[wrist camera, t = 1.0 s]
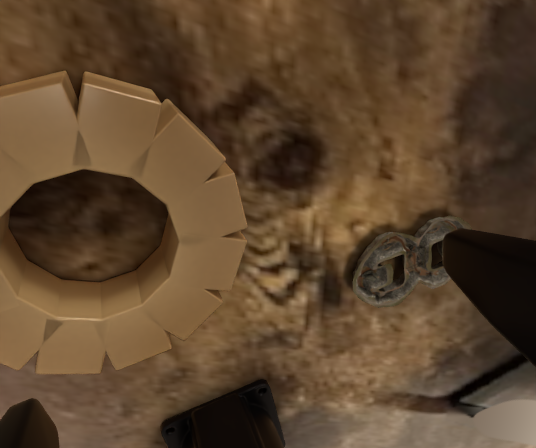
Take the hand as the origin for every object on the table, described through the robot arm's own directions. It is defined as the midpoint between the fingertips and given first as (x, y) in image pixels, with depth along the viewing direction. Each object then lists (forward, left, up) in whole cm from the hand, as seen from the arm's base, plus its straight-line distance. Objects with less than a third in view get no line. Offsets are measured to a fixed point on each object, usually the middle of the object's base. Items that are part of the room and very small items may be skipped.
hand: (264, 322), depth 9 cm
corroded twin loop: (-9, -11, -11) cm, 18 cm away
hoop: (-1, +4, -11) cm, 12 cm away
